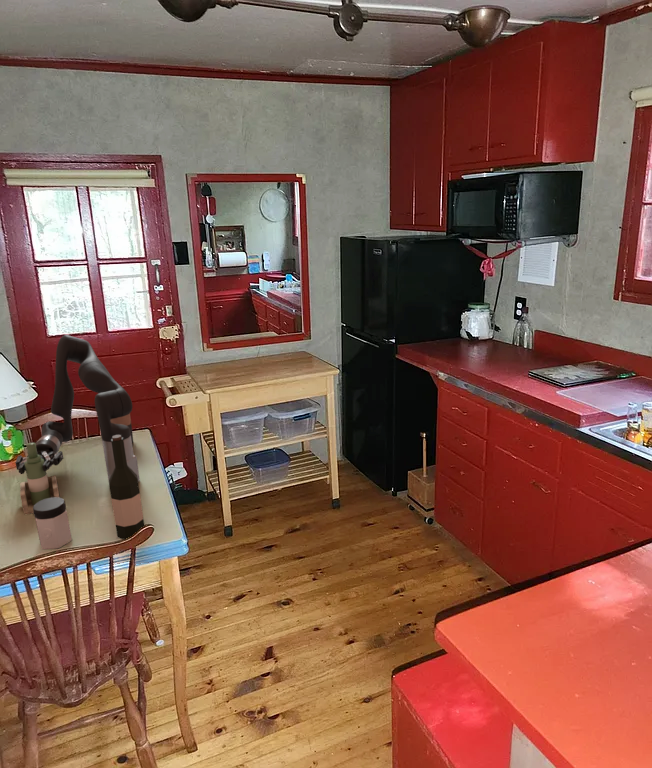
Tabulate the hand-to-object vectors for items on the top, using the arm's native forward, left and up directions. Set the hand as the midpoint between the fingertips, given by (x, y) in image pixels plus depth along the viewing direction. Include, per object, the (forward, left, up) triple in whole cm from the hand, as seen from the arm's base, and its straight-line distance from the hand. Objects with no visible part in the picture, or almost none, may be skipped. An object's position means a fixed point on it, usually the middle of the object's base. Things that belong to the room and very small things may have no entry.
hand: (32, 469), depth 178 cm
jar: (-20, +15, -13) cm, 28 cm away
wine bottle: (-38, +5, -13) cm, 40 cm away
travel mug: (+6, -51, -13) cm, 53 cm away
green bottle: (+1, -2, -12) cm, 13 cm away
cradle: (+1, -2, -13) cm, 13 cm away
